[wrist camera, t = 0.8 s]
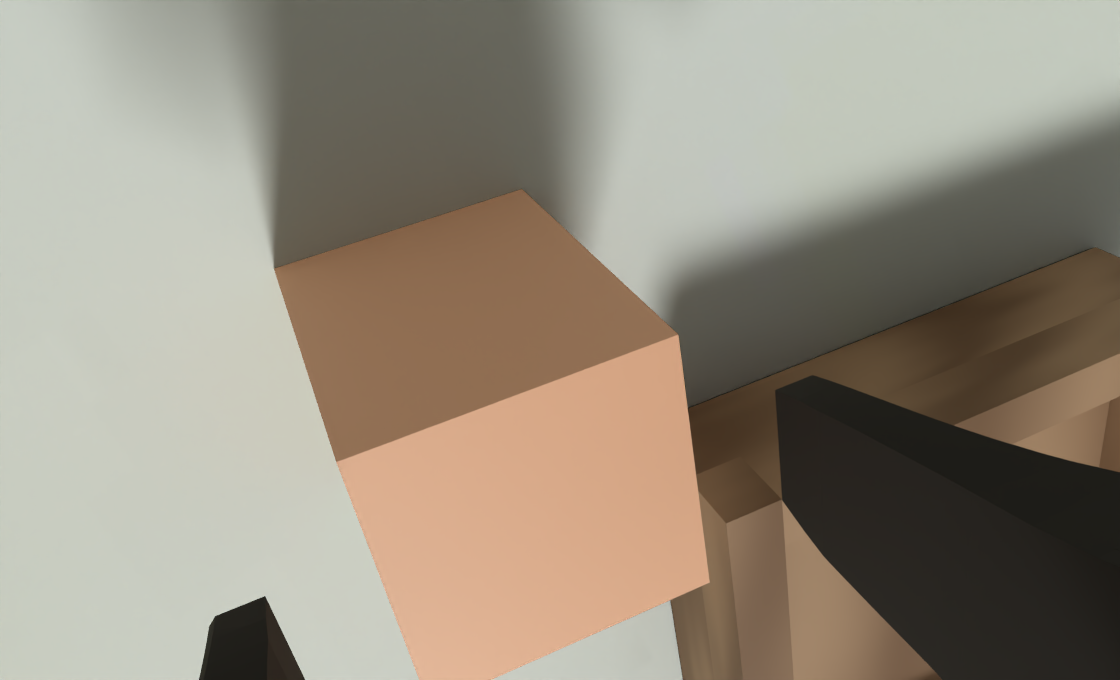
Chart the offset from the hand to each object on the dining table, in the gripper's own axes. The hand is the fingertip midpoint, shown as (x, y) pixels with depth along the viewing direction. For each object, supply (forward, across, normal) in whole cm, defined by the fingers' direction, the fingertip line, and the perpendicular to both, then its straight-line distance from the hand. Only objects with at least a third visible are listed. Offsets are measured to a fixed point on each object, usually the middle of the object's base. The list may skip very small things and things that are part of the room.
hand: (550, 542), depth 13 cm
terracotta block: (+6, 0, 0) cm, 6 cm away
